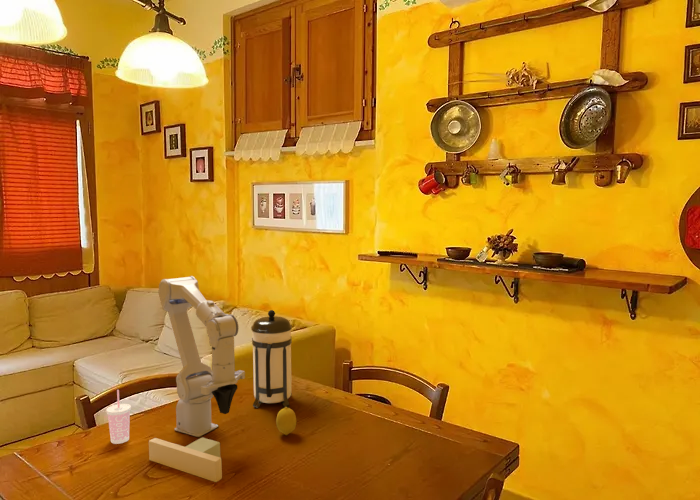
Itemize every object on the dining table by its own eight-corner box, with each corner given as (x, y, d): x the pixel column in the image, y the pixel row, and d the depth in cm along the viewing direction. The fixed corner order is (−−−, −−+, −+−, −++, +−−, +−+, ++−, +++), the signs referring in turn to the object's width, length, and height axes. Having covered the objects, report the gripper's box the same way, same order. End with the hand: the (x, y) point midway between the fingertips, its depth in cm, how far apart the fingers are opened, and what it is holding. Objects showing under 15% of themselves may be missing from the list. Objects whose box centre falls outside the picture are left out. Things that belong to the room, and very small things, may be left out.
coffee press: (237, 401, 171) (235, 310, 168) (278, 389, 182) (277, 303, 179) (268, 418, 159) (266, 319, 156) (310, 404, 169) (309, 311, 166)
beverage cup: (105, 446, 141) (102, 394, 139) (110, 436, 147) (108, 386, 145) (129, 443, 142) (127, 393, 141) (134, 434, 148) (132, 385, 147)
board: (149, 460, 133) (148, 440, 133) (155, 456, 135) (155, 437, 135) (215, 482, 123) (215, 461, 122) (221, 478, 125) (221, 457, 124)
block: (182, 466, 131) (181, 448, 130) (202, 454, 137) (202, 437, 136) (200, 472, 128) (199, 454, 127) (220, 459, 134) (219, 442, 134)
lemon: (299, 432, 149) (299, 404, 148) (291, 440, 144) (290, 412, 143) (281, 429, 151) (281, 402, 150) (272, 437, 146) (272, 409, 145)
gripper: (215, 372, 130) (216, 426, 131) (253, 357, 143) (254, 405, 144) (194, 368, 133) (195, 420, 135) (233, 353, 146) (234, 401, 147)
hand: (224, 412), depth 140 cm, fingers closed
